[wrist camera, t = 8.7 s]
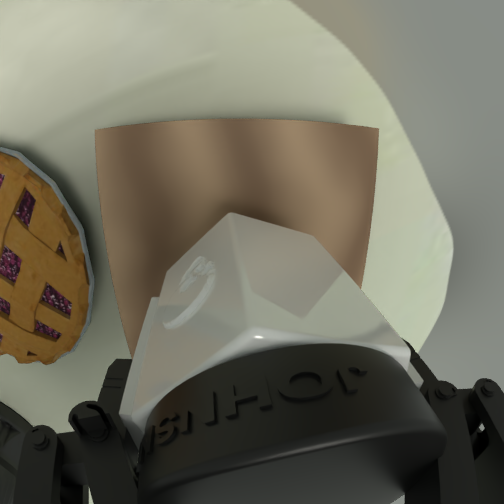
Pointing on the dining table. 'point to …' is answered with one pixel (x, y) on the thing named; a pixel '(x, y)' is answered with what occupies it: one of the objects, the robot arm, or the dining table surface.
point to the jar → (275, 381)
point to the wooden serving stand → (227, 193)
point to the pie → (40, 266)
